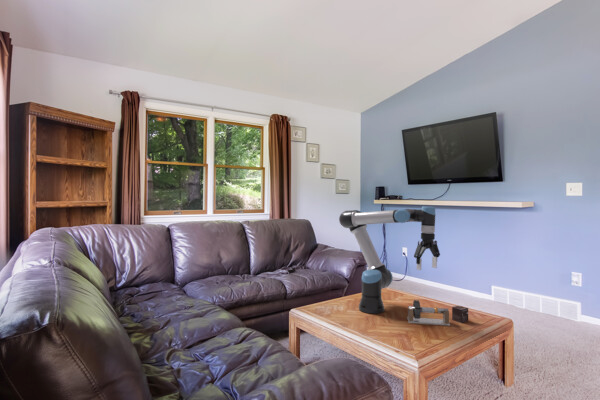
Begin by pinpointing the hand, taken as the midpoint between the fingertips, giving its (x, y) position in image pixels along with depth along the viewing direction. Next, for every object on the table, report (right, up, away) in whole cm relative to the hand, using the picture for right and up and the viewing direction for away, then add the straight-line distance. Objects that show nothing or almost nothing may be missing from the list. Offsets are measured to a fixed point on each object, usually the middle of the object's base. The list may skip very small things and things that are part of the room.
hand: (426, 268), depth 195 cm
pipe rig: (-4, -26, -14) cm, 30 cm away
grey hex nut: (-10, -25, -13) cm, 29 cm away
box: (+14, -27, -11) cm, 32 cm away
